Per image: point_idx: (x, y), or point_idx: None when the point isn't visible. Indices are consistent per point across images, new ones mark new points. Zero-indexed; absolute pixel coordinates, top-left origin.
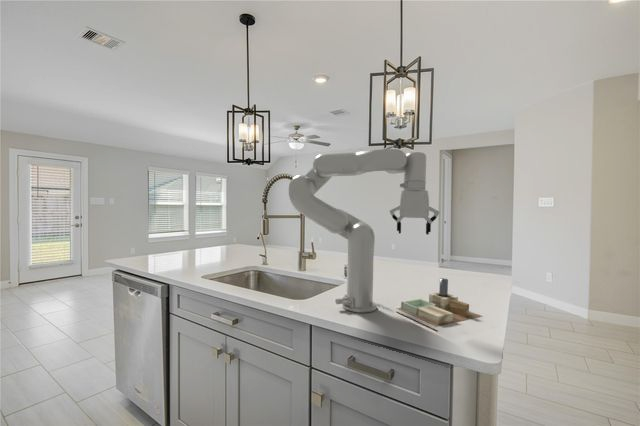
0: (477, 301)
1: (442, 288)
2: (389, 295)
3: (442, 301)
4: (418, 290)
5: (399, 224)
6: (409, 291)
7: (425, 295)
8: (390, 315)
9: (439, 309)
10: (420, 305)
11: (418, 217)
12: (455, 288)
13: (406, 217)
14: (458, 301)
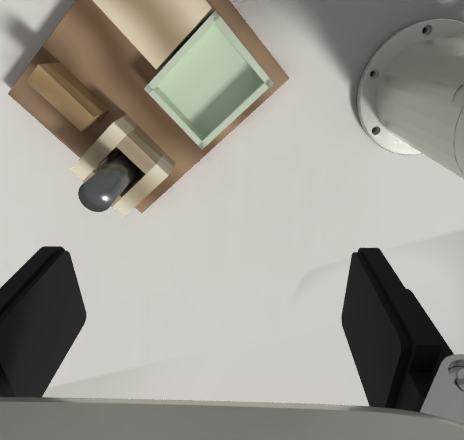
0: None
1: (112, 169)
2: (300, 255)
3: (124, 126)
4: (207, 326)
5: (419, 319)
6: (234, 310)
7: (187, 285)
8: (310, 37)
9: (133, 26)
10: (203, 128)
11: (60, 399)
12: (103, 369)
13: (347, 406)
14: (64, 108)
